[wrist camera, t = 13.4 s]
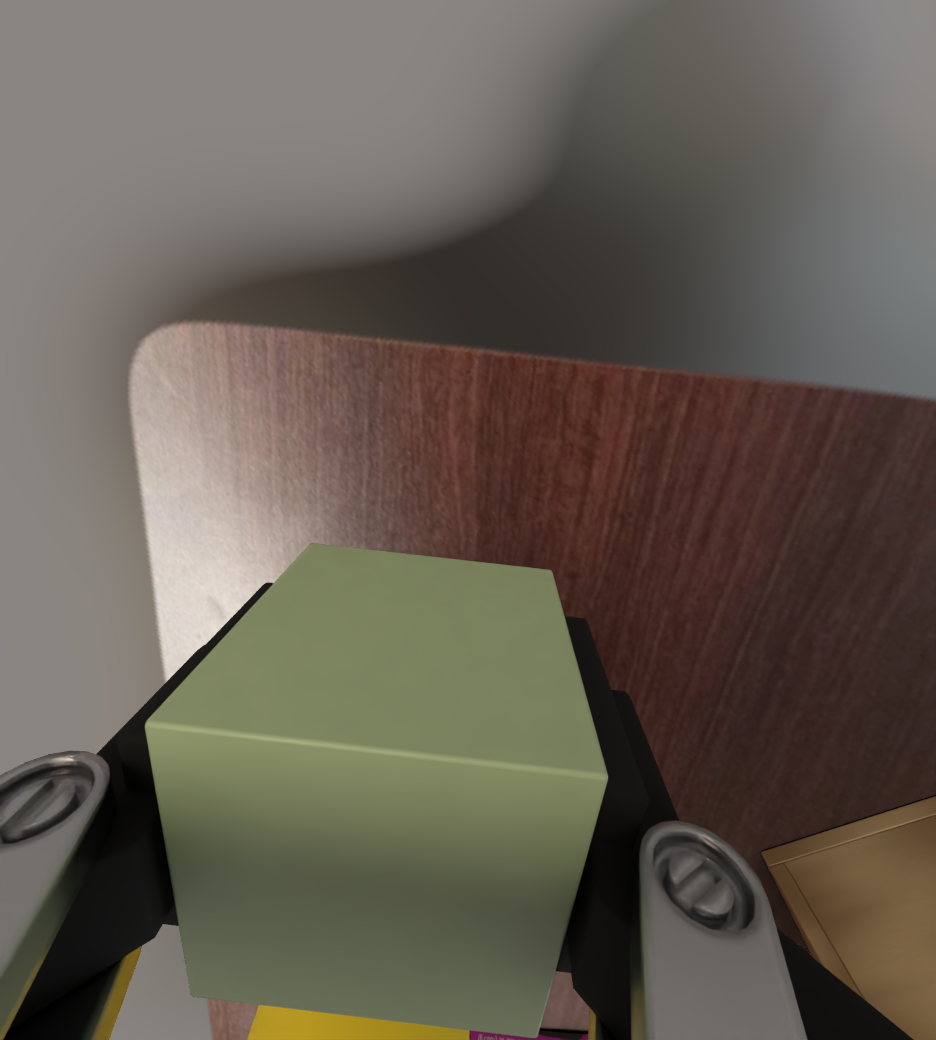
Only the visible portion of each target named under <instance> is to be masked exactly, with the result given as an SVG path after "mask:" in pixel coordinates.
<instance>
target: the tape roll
mask: <svg viewBox="0 0 936 1040" xmlns="http://www.w3.org/2000/svg"><path fill="white" fill-rule="evenodd" d="M247 1040H469V1030H463V1029H455V1028H447V1027H438V1026H430V1025H422V1024H414V1023H405V1022H397V1021H389V1020H380V1019H372V1018H364V1017H356V1016H347V1015H339V1014H331V1013H323V1012H314V1011H306V1010H298V1009H290V1008H281V1007H273V1006H265V1005H259V1007H258V1010H257V1012H256V1015H255V1018H254V1021H253V1024H252V1027H251V1030H250V1033H249V1035H248V1038H247Z"/></svg>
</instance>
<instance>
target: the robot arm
mask: <svg viewBox="0 0 936 1040" xmlns="http://www.w3.org/2000/svg"><path fill="white" fill-rule="evenodd" d="M273 584H274V583H265V584H264V585H263V586H262V587H261V588H260V589H259V590H258V591H257V592H256V593H255V594H254V595H253V596H252V597H251V598H250V599H249V600H248V601H247V602H246V603H245V604H244V605H243V607H242V608H241V609H240V610H239V611H238V612H237V613H236V614H235V615H234V616H233V617H232V618H231V619H230V620H229V621H228V622H227V623H226V624H225V625H224V626H223V627H222V628H221V629H220V630H219V631H218V632H217V634H216V635H215V636H214V637H213V638H212V639H211V640H210V641H209V642H208V643H207V644H206V645H204V646H202V647H201V648H200V649H199V650H197V651H196V652H195V653H194V654H193V655H192V656H191V657H190V659H189V660H188V661H187V662H186V663H185V664H184V665H183V666H182V667H181V668H180V669H179V670H178V671H177V672H176V673H175V674H174V675H173V676H172V677H171V678H170V679H169V680H168V681H167V682H166V683H165V684H164V685H163V686H162V687H161V688H160V689H159V691H157V692H156V693H155V694H154V696H153V697H152V698H151V699H150V700H149V701H148V702H147V703H146V704H145V705H144V706H143V707H142V708H141V709H140V710H139V711H138V712H137V713H136V714H135V715H134V716H133V717H132V718H131V719H130V720H129V721H128V722H127V723H126V724H125V725H124V726H123V727H122V729H121V730H119V732H118V733H117V734H116V735H115V736H114V737H113V738H112V739H111V740H110V741H109V742H108V743H107V744H106V745H105V746H104V747H103V748H102V749H101V750H100V751H99V752H98V753H97V754H96V755H95V754H93V753H90V752H86V751H66V752H61V753H54V754H49V755H46V756H43V757H40V758H37V759H34V760H31V761H28V762H25V763H24V764H21V765H19V766H17V767H15V768H13V769H11V770H10V771H8V772H5V773H4V774H2V775H0V1040H109V1038H110V1036H111V1032H112V1030H113V1027H114V1024H115V1022H116V1019H117V1016H118V1014H119V1011H120V1008H121V1005H122V1003H123V1000H124V997H125V994H126V991H127V988H128V986H129V983H130V980H131V978H132V975H133V972H134V969H135V967H136V964H137V961H138V958H139V955H140V952H141V947H142V945H144V944H145V943H147V942H148V941H150V940H152V939H153V938H155V936H156V935H157V933H158V931H159V929H160V928H161V926H162V924H168V925H176V926H179V924H178V918H177V912H176V906H175V901H174V895H173V889H172V883H171V877H170V871H169V865H168V860H167V854H166V848H165V842H164V836H163V830H162V825H161V819H160V813H159V807H158V801H157V795H156V789H155V784H154V778H153V772H152V766H151V760H150V754H149V749H148V743H147V737H146V731H145V724H146V721H147V720H148V719H149V718H150V717H151V715H152V714H153V713H154V712H155V711H156V710H157V709H158V708H159V707H160V706H161V705H162V704H163V702H164V701H165V700H166V699H167V698H168V697H169V696H170V695H171V694H172V693H173V692H174V691H175V690H176V688H177V687H178V686H179V685H180V684H181V683H182V682H183V681H184V680H185V679H186V678H187V677H188V675H189V674H190V673H191V672H192V671H193V670H194V669H195V668H196V667H197V666H198V665H199V664H200V663H201V661H202V660H203V659H204V658H205V657H206V656H207V655H208V654H209V653H210V652H211V651H212V650H213V648H214V647H215V646H216V645H217V644H218V643H219V642H220V641H221V640H222V639H223V638H224V637H225V636H226V634H227V633H228V632H229V631H230V630H231V629H232V628H233V627H234V626H235V625H236V624H237V623H238V621H239V620H240V619H241V618H242V617H243V616H244V615H245V614H246V613H247V612H248V611H249V610H250V608H251V607H252V606H253V605H254V604H255V603H256V602H257V601H258V600H259V599H260V598H261V597H262V596H263V594H264V593H265V592H266V591H267V590H268V589H269V588H270V587H271V586H272V585H273ZM564 617H565V620H566V624H567V628H568V631H569V635H570V638H571V642H572V646H573V649H574V653H575V657H576V660H577V664H578V668H579V671H580V675H581V679H582V682H583V686H584V690H585V693H586V697H587V701H588V704H589V708H590V712H591V715H592V719H593V723H594V726H595V730H596V734H597V737H598V741H599V745H600V748H601V752H602V756H603V759H604V763H605V767H606V770H607V774H608V781H607V785H606V788H605V792H604V795H603V799H602V803H601V806H600V810H599V814H598V817H597V821H596V825H595V828H594V832H593V836H592V839H591V843H590V847H589V850H588V854H587V858H586V861H585V865H584V869H583V872H582V876H581V880H580V883H579V887H578V891H577V894H576V898H575V902H574V905H573V909H572V913H571V916H570V920H569V924H568V927H567V931H566V934H565V938H564V942H563V945H562V949H561V953H560V956H559V960H558V964H557V967H556V971H560V972H568V973H571V975H572V982H573V988H574V989H575V991H576V992H577V993H578V994H579V995H580V997H581V998H582V999H583V1000H584V1001H585V1003H586V1004H587V1005H588V1006H589V1029H588V1040H914V1039H912V1038H911V1037H910V1036H909V1035H908V1034H906V1033H905V1032H904V1031H903V1030H901V1029H900V1028H899V1027H898V1026H896V1025H895V1024H894V1023H893V1022H892V1021H890V1020H889V1019H888V1018H887V1017H885V1016H884V1015H883V1014H882V1013H880V1012H879V1011H878V1010H877V1009H876V1008H874V1007H873V1006H872V1005H871V1004H869V1003H868V1002H867V1001H866V1000H864V999H863V998H862V997H861V996H860V995H858V994H857V993H856V992H855V991H853V990H852V989H851V988H850V987H848V986H847V985H846V984H845V983H844V982H842V981H841V980H840V979H839V978H837V977H836V976H835V975H834V974H832V973H831V972H830V971H829V970H827V969H826V968H825V967H824V966H823V965H821V964H820V963H819V962H818V961H816V960H815V959H814V958H813V957H811V956H810V955H809V954H808V953H807V952H805V951H804V950H803V949H802V948H800V947H799V946H798V945H797V944H795V943H794V942H793V941H792V940H791V939H789V938H788V937H787V936H786V935H784V934H783V933H782V932H781V931H779V930H778V929H777V928H776V925H775V921H774V918H773V914H772V911H771V907H770V903H769V900H768V898H767V895H766V893H765V891H764V888H763V886H762V883H761V881H760V879H759V878H758V876H757V875H756V874H755V872H754V871H753V869H752V868H751V866H750V865H749V864H748V862H747V861H746V860H745V859H744V858H743V857H742V856H741V855H740V854H739V853H738V852H737V851H736V850H735V849H734V848H733V847H732V846H731V845H730V844H728V843H727V842H726V841H724V840H723V839H721V838H720V837H718V836H717V835H715V834H714V833H713V832H711V831H708V830H706V829H704V828H702V827H700V826H697V825H695V824H692V823H687V822H682V821H679V819H678V817H677V814H676V812H675V809H674V807H673V804H672V802H671V799H670V797H669V794H668V792H667V789H666V787H665V784H664V782H663V779H662V777H661V774H660V772H659V769H658V766H657V764H656V761H655V759H654V756H653V754H652V751H651V749H650V746H649V744H648V741H647V739H646V736H645V734H644V731H643V729H642V726H641V724H640V721H639V719H638V716H637V714H636V711H635V708H634V706H633V703H632V701H631V699H630V697H629V695H628V694H627V693H626V692H624V691H616V690H611V689H610V686H609V683H608V680H607V677H606V674H605V671H604V669H603V666H602V663H601V660H600V657H599V654H598V651H597V649H596V646H595V643H594V640H593V637H592V634H591V631H590V629H589V626H588V623H587V621H586V619H584V618H575V617H566V616H564Z"/></svg>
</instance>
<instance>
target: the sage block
mask: <svg viewBox="0 0 936 1040" xmlns="http://www.w3.org/2000/svg"><path fill="white" fill-rule="evenodd" d="M145 731H146V737H147V743H148V749H149V754H150V760H151V766H152V772H153V778H154V784H155V789H156V795H157V801H158V807H159V813H160V819H161V825H162V830H163V836H164V842H165V848H166V854H167V860H168V865H169V871H170V877H171V883H172V889H173V895H174V901H175V906H176V912H177V918H178V924H179V930H180V936H181V941H182V947H183V953H184V959H185V964H186V971H187V976H188V982H189V988H190V994H191V996H193V997H199V998H207V999H215V1000H224V1001H232V1002H240V1003H248V1004H257V1005H265V1006H273V1007H281V1008H290V1009H298V1010H306V1011H314V1012H323V1013H331V1014H339V1015H347V1016H356V1017H364V1018H372V1019H380V1020H389V1021H397V1022H405V1023H414V1024H422V1025H430V1026H438V1027H447V1028H455V1029H463V1030H471V1031H480V1032H488V1033H496V1034H504V1035H513V1036H521V1037H529V1038H536V1037H538V1033H539V1030H540V1026H541V1022H542V1019H543V1015H544V1011H545V1008H546V1004H547V1000H548V997H549V993H550V989H551V986H552V982H553V978H554V975H555V971H556V967H557V964H558V960H559V956H560V953H561V949H562V945H563V942H564V938H565V934H566V931H567V927H568V924H569V920H570V916H571V913H572V909H573V905H574V902H575V898H576V894H577V891H578V887H579V883H580V880H581V876H582V872H583V869H584V865H585V861H586V858H587V854H588V850H589V847H590V843H591V839H592V836H593V832H594V828H595V825H596V821H597V817H598V814H599V810H600V806H601V803H602V799H603V795H604V792H605V788H606V785H607V781H608V774H607V770H606V767H605V763H604V759H603V756H602V752H601V748H600V745H599V741H598V737H597V734H596V730H595V726H594V723H593V719H592V715H591V712H590V708H589V704H588V701H587V697H586V693H585V690H584V686H583V682H582V679H581V675H580V671H579V668H578V664H577V660H576V657H575V653H574V649H573V646H572V642H571V638H570V635H569V631H568V628H567V624H566V620H565V617H564V613H563V609H562V606H561V602H560V598H559V595H558V591H557V587H556V584H555V580H554V576H553V573H552V571H551V570H546V569H537V568H528V567H519V566H510V565H501V564H493V563H484V562H475V561H466V560H457V559H448V558H439V557H430V556H422V555H413V554H404V553H395V552H386V551H377V550H368V549H359V548H351V547H342V546H333V545H324V544H315V543H312V544H310V545H309V546H308V547H307V548H306V549H305V550H304V551H303V552H302V553H301V554H300V556H299V557H298V558H297V559H296V560H295V561H294V562H293V563H292V564H291V565H290V566H289V567H288V569H287V570H286V571H285V572H284V573H283V574H282V575H281V576H280V577H279V578H278V579H277V580H276V581H275V583H274V584H273V585H272V586H271V587H270V588H269V589H268V590H267V591H266V592H265V593H264V594H263V596H262V597H261V598H260V599H259V600H258V601H257V602H256V603H255V604H254V605H253V606H252V607H251V608H250V610H249V611H248V612H247V613H246V614H245V615H244V616H243V617H242V618H241V619H240V620H239V621H238V623H237V624H236V625H235V626H234V627H233V628H232V629H231V630H230V631H229V632H228V633H227V634H226V636H225V637H224V638H223V639H222V640H221V641H220V642H219V643H218V644H217V645H216V646H215V647H214V648H213V650H212V651H211V652H210V653H209V654H208V655H207V656H206V657H205V658H204V659H203V660H202V661H201V663H200V664H199V665H198V666H197V667H196V668H195V669H194V670H193V671H192V672H191V673H190V674H189V675H188V677H187V678H186V679H185V680H184V681H183V682H182V683H181V684H180V685H179V686H178V687H177V688H176V690H175V691H174V692H173V693H172V694H171V695H170V696H169V697H168V698H167V699H166V700H165V701H164V702H163V704H162V705H161V706H160V707H159V708H158V709H157V710H156V711H155V712H154V713H153V714H152V715H151V717H150V718H149V719H148V720H147V721H146V724H145Z"/></svg>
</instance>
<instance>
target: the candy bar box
mask: <svg viewBox="0 0 936 1040" xmlns="http://www.w3.org/2000/svg"><path fill="white" fill-rule="evenodd" d="M469 1040H588V1034H574V1033H561V1032H551V1031H539V1033H538V1037H536V1038H529V1037H521V1036H513V1035H504V1034H496V1033H488V1032H480V1031H471V1030H469Z"/></svg>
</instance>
